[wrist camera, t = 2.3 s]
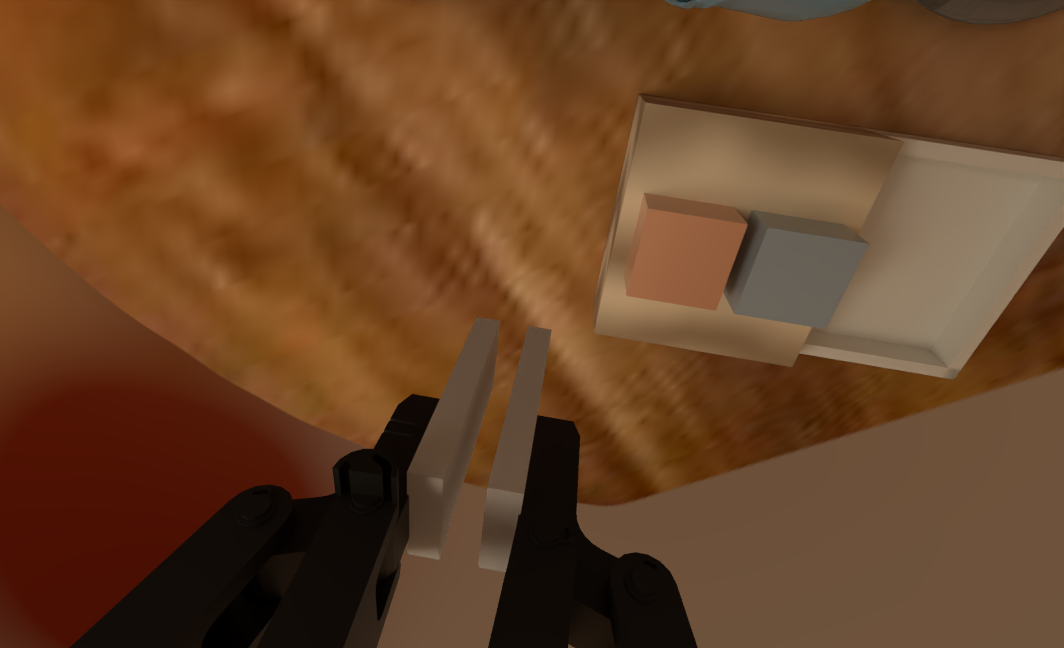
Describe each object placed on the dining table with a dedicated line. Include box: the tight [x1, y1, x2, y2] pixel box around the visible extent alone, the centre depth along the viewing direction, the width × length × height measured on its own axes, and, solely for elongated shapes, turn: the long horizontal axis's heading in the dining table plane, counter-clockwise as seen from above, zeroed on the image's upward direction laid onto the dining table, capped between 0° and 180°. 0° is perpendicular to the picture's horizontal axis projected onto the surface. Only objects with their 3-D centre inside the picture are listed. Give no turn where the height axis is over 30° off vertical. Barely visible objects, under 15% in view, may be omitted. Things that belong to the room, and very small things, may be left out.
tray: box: [800, 127, 1064, 379], centre depth 30 cm, size 14×12×3 cm
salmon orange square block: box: [624, 193, 748, 311], centre depth 27 cm, size 5×5×3 cm
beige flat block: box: [594, 94, 904, 367], centre depth 30 cm, size 14×13×5 cm
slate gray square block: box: [723, 210, 869, 329], centre depth 27 cm, size 5×5×3 cm
